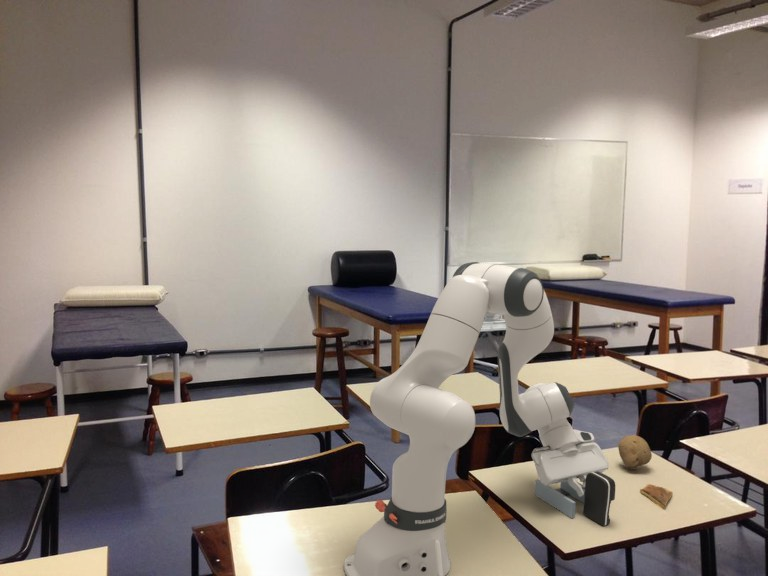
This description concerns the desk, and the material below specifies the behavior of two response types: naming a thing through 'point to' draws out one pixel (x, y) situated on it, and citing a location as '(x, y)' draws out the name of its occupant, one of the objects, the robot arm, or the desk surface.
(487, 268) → the robot arm
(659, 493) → the shard
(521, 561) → the desk surface
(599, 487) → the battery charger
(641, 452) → the brown potato
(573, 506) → the channel
